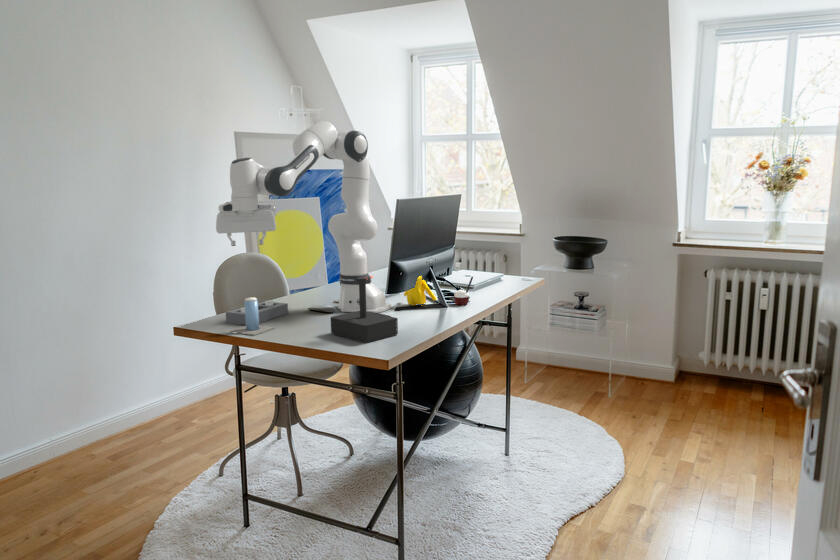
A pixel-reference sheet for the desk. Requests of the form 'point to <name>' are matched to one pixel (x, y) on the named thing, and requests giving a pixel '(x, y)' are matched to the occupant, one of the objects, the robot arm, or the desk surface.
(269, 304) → the plunger
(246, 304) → the cartridge
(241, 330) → the mat
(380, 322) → the black post stand
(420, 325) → the desk surface
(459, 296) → the cocoa
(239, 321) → the housing
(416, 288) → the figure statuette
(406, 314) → the desk surface
